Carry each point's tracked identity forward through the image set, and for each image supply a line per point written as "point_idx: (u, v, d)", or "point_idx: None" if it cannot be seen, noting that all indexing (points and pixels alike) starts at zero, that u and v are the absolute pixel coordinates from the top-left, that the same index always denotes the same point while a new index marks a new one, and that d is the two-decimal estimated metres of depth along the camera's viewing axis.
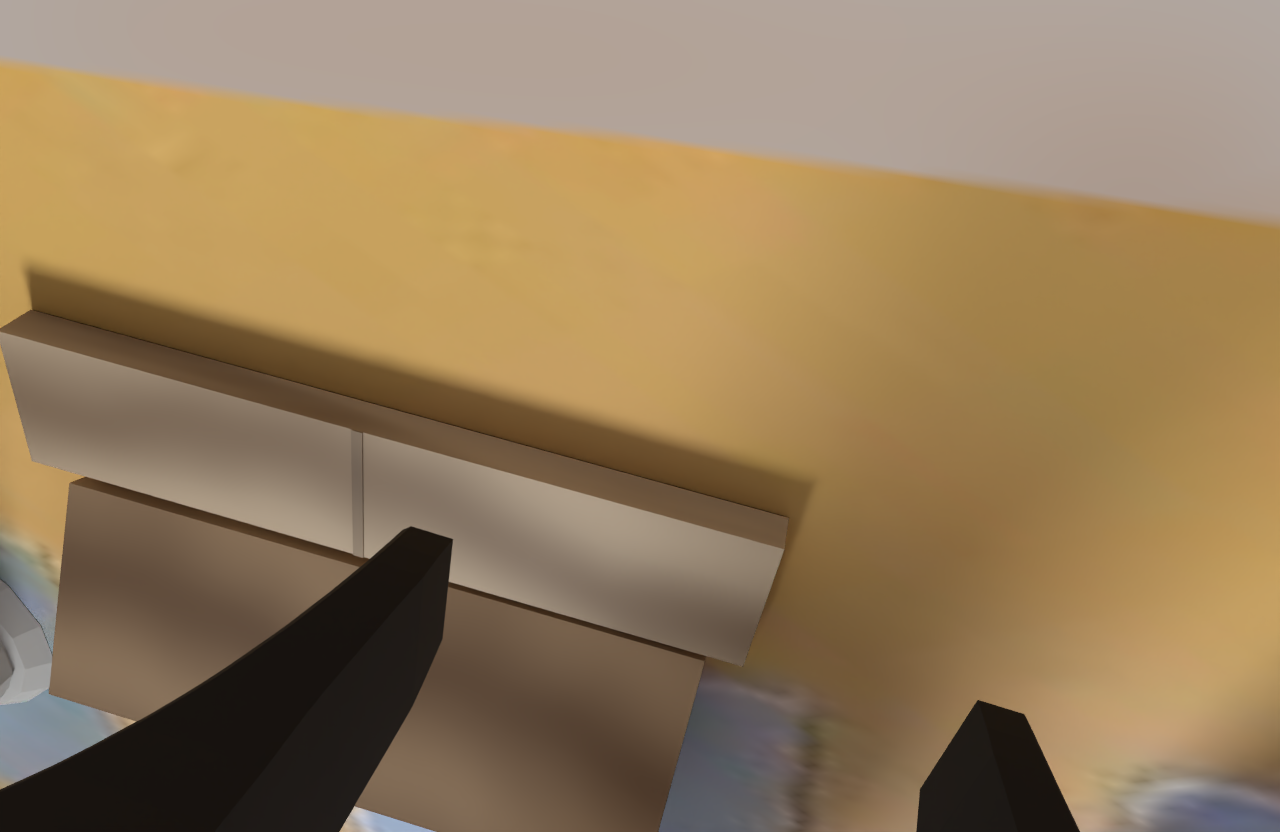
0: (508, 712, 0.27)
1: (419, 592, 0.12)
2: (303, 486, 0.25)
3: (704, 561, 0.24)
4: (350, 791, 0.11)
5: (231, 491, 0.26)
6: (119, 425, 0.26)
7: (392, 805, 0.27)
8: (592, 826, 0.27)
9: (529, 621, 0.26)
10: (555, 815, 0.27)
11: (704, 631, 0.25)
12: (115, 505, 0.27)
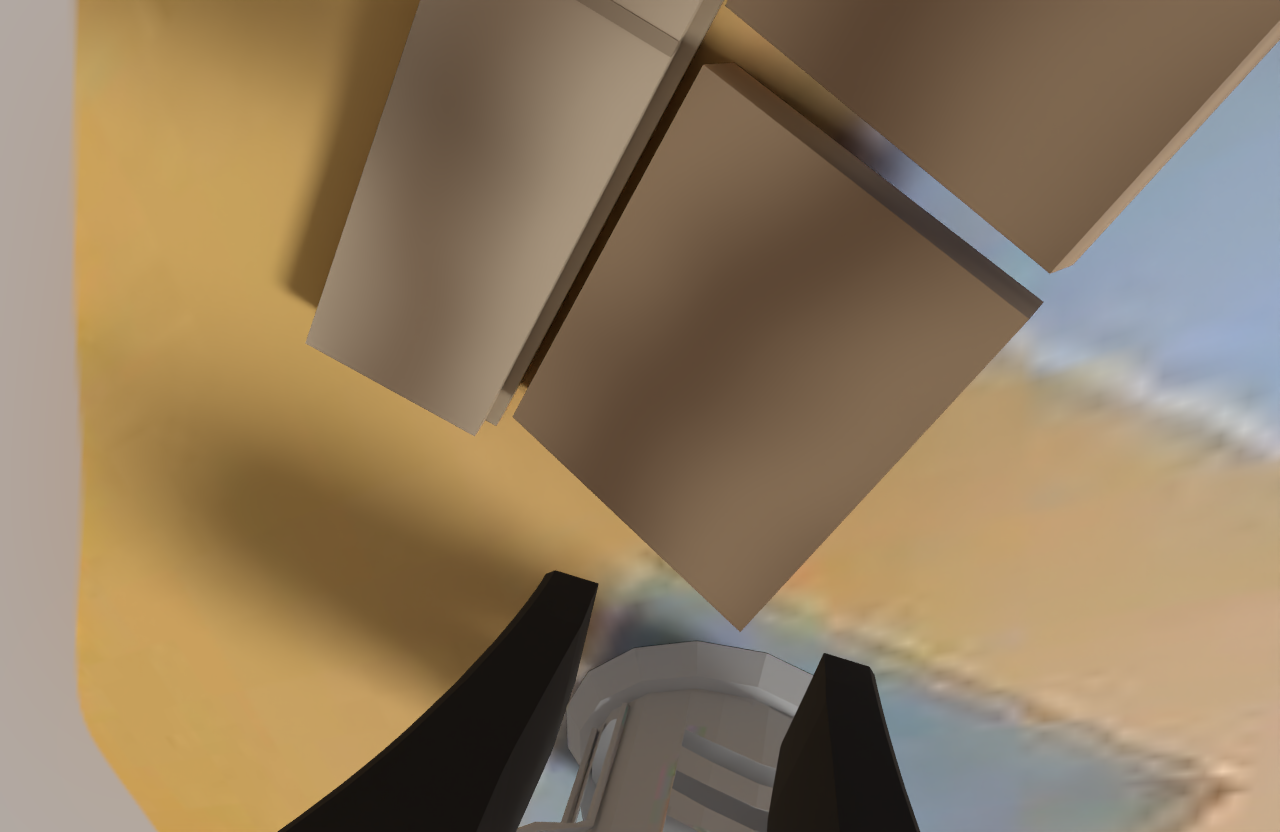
0: None
1: (575, 641, 0.11)
2: (539, 69, 0.17)
3: None
4: None
5: (538, 193, 0.18)
6: (429, 284, 0.20)
7: (1107, 171, 0.13)
8: None
9: None
10: None
11: None
12: (546, 378, 0.21)
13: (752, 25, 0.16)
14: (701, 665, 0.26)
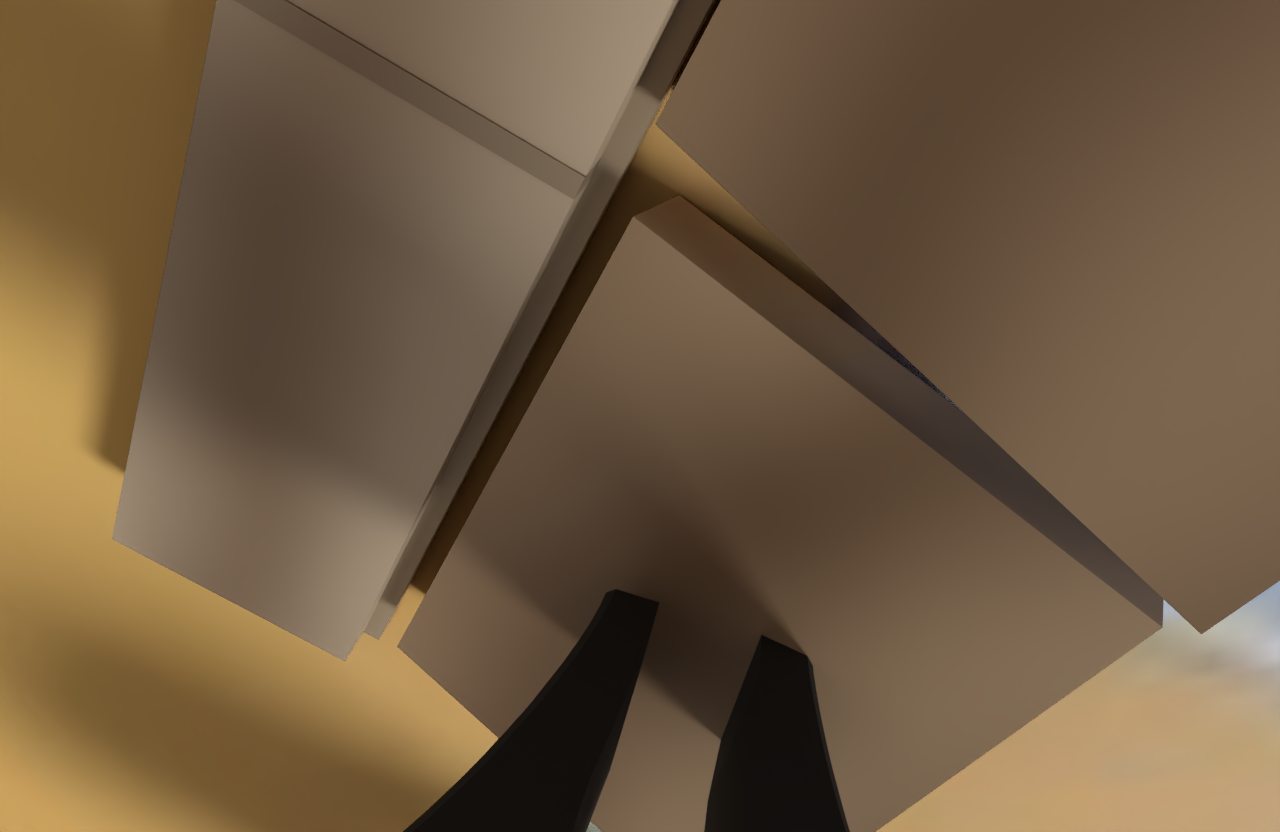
0: None
1: (640, 661, 0.11)
2: (380, 208, 0.11)
3: None
4: None
5: (397, 376, 0.13)
6: (262, 480, 0.14)
7: None
8: None
9: None
10: None
11: None
12: (437, 607, 0.15)
13: (697, 157, 0.10)
14: None
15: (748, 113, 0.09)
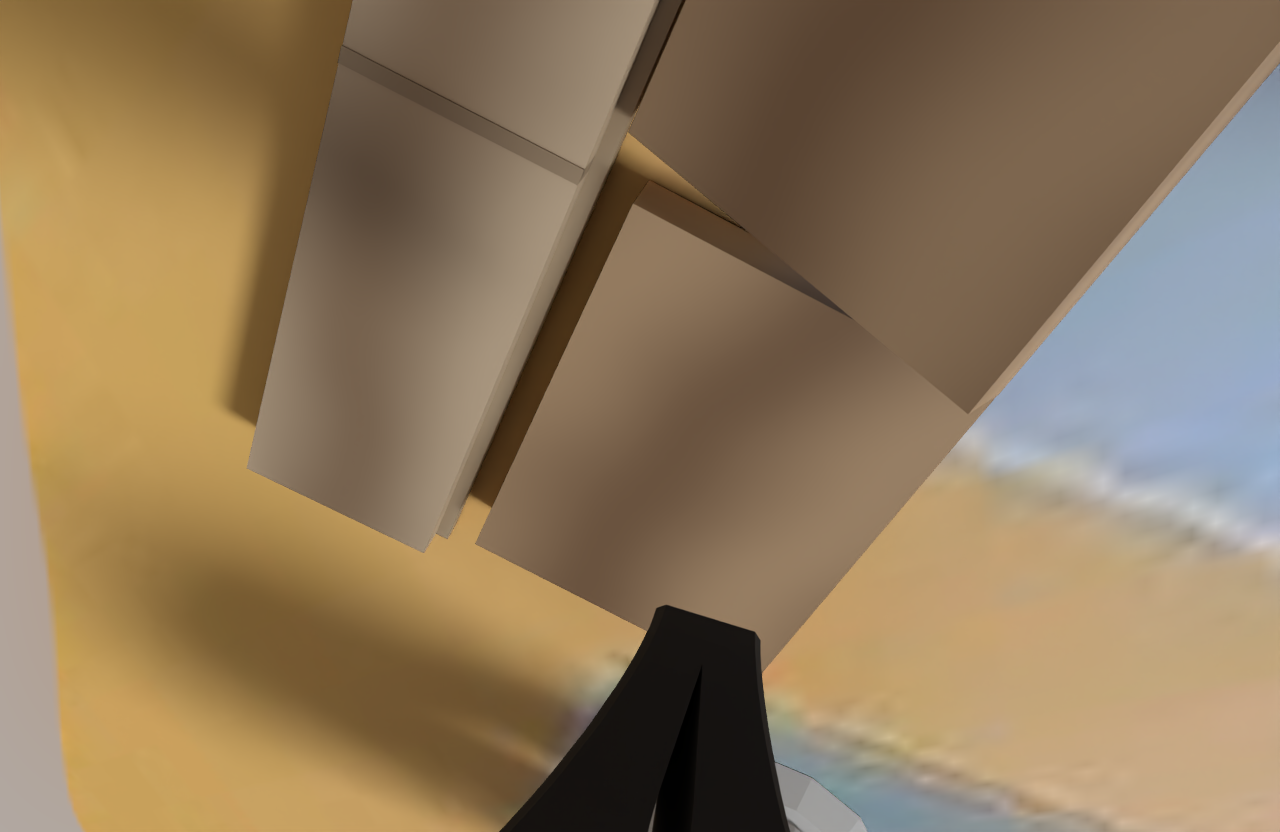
0: None
1: None
2: (447, 200, 0.17)
3: None
4: None
5: (460, 320, 0.18)
6: (362, 409, 0.20)
7: (1017, 312, 0.12)
8: None
9: None
10: None
11: None
12: (507, 505, 0.20)
13: (656, 151, 0.15)
14: None
15: (685, 120, 0.15)
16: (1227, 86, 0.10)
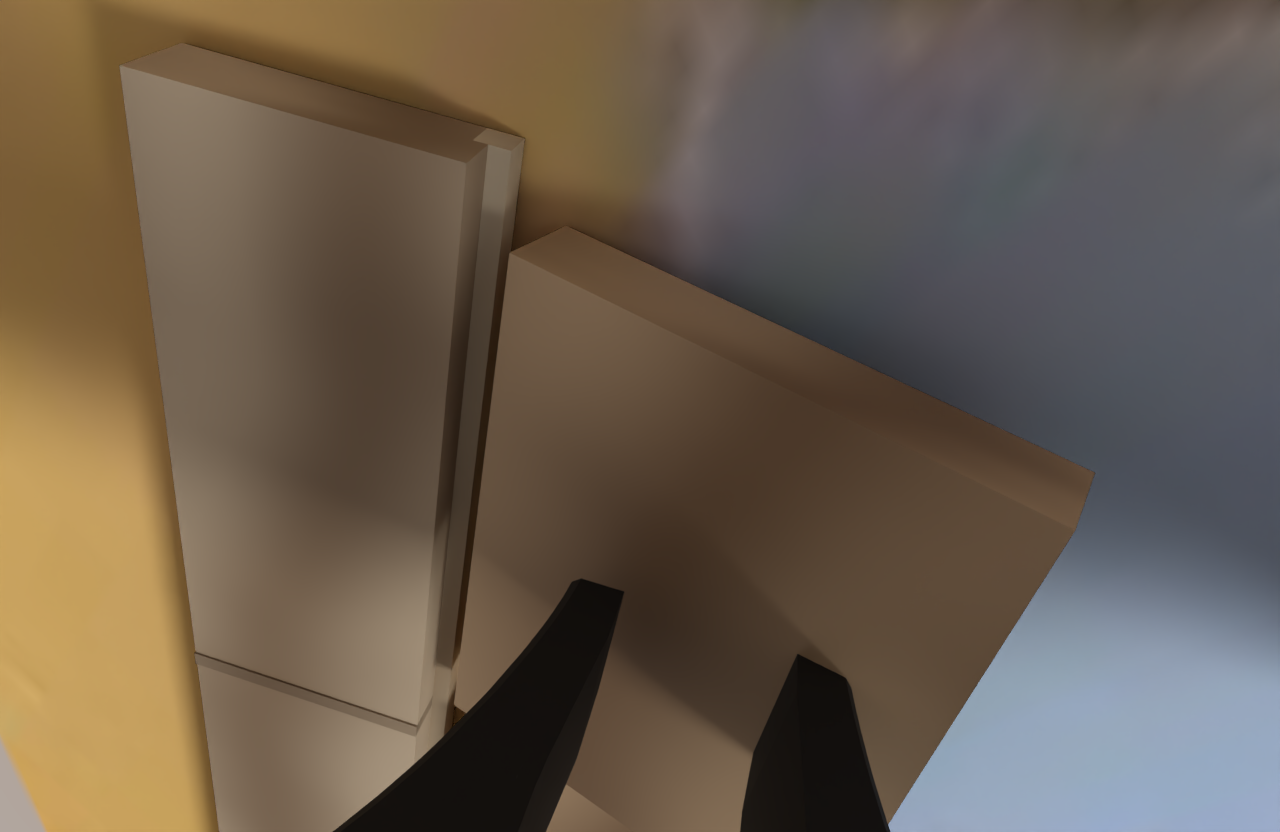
0: (637, 642, 0.13)
1: None
2: (316, 745, 0.18)
3: (213, 224, 0.12)
4: None
5: None
6: None
7: None
8: (871, 578, 0.11)
9: (489, 551, 0.14)
10: (841, 641, 0.11)
11: (389, 239, 0.12)
12: None
13: None
14: None
15: None
16: (910, 768, 0.12)
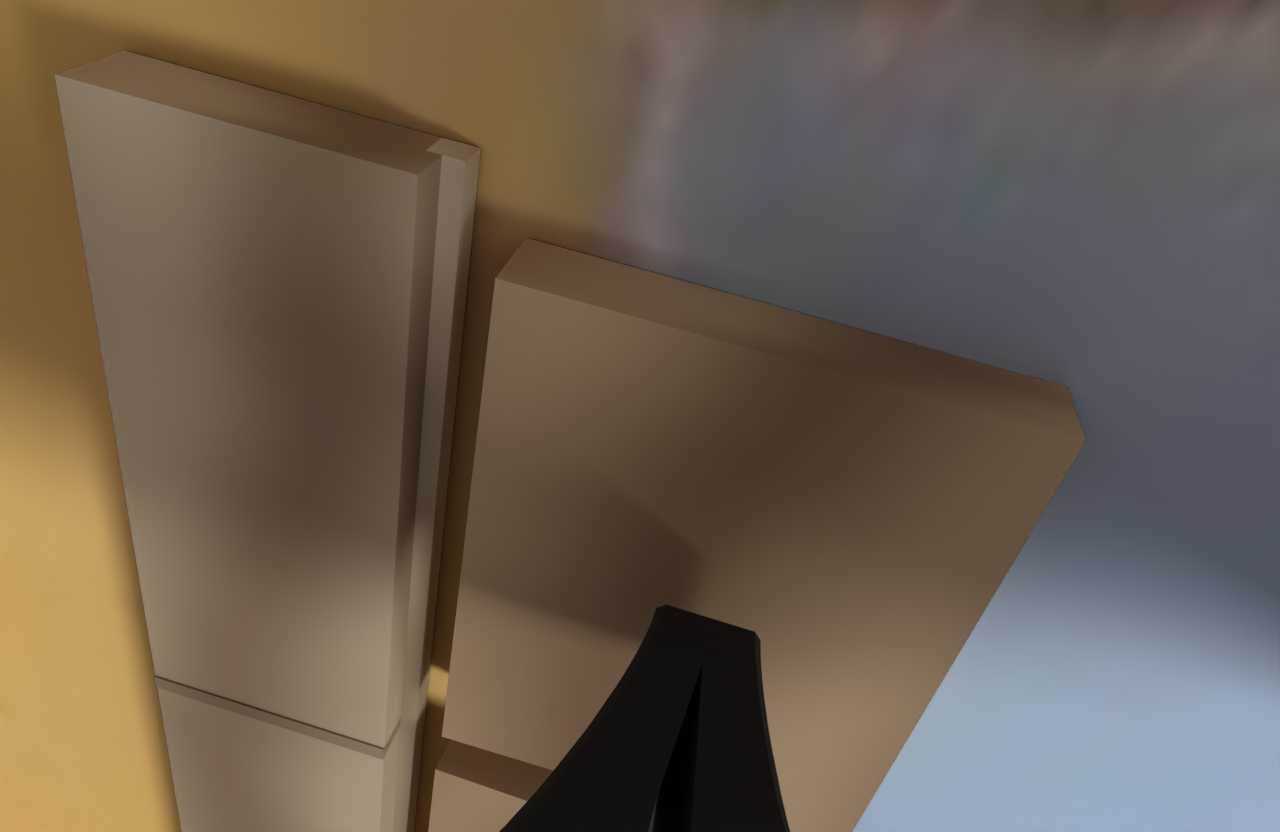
0: None
1: None
2: (282, 769, 0.18)
3: (158, 238, 0.12)
4: None
5: None
6: None
7: (845, 800, 0.15)
8: (898, 519, 0.12)
9: (480, 578, 0.14)
10: (870, 580, 0.12)
11: (340, 254, 0.11)
12: None
13: (475, 741, 0.16)
14: None
15: (496, 725, 0.16)
16: (937, 672, 0.13)
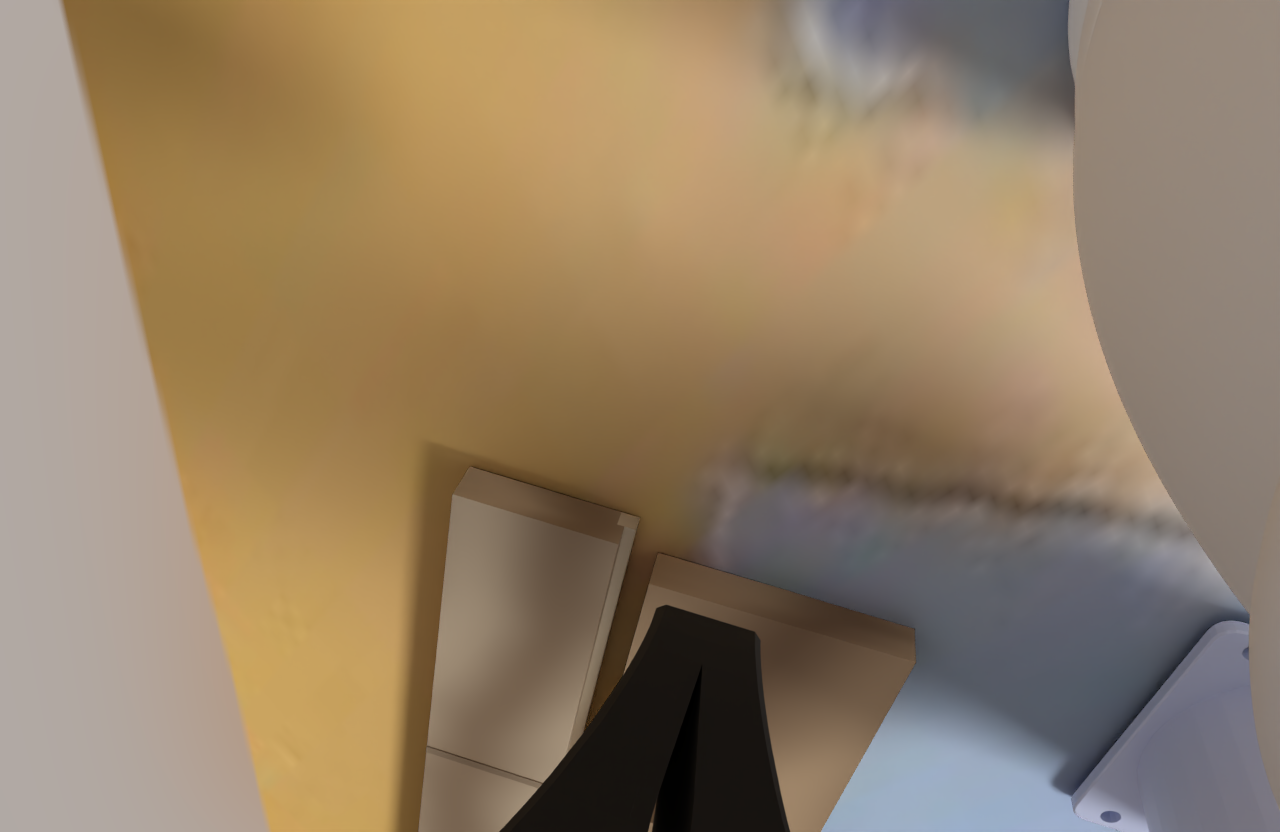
0: None
1: None
2: (492, 798, 0.31)
3: (486, 555, 0.25)
4: None
5: None
6: None
7: (814, 819, 0.28)
8: (835, 689, 0.25)
9: None
10: (822, 714, 0.26)
11: (576, 568, 0.24)
12: None
13: None
14: None
15: None
16: (857, 757, 0.26)
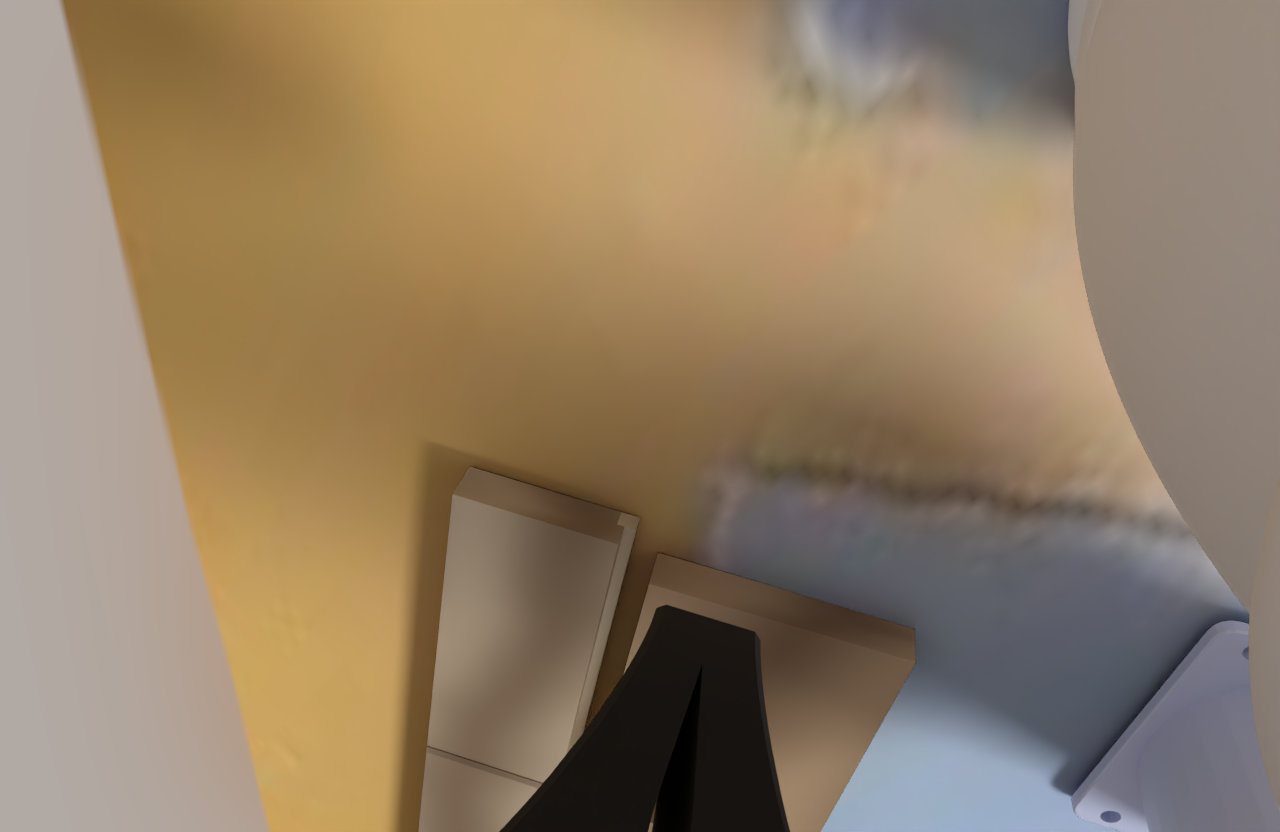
0: None
1: None
2: (492, 798, 0.31)
3: (486, 555, 0.25)
4: None
5: None
6: None
7: (814, 819, 0.28)
8: (835, 689, 0.25)
9: None
10: (822, 714, 0.26)
11: (576, 568, 0.24)
12: None
13: None
14: None
15: None
16: (857, 757, 0.26)
